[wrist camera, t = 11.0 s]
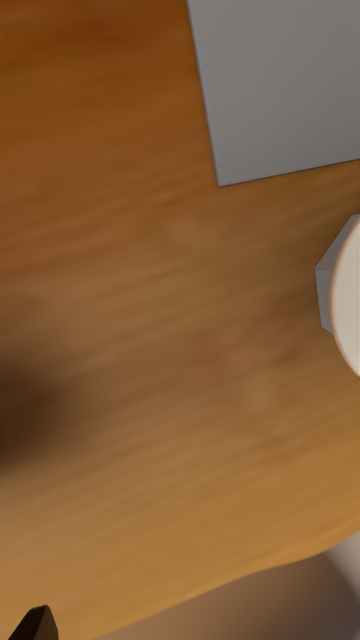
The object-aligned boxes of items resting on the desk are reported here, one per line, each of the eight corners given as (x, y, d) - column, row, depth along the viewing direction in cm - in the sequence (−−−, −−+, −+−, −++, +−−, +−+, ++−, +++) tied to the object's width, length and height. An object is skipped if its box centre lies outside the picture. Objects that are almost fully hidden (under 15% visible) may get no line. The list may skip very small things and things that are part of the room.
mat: (218, 187, 19) (219, 186, 19) (161, -149, 16) (162, -159, 15) (465, 137, 20) (471, 135, 20) (459, -189, 17) (466, -199, 16)
